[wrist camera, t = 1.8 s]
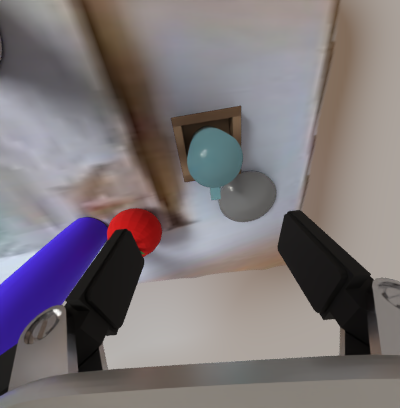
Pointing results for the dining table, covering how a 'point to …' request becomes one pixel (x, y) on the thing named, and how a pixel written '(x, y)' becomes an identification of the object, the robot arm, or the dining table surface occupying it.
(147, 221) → the tomato
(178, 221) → the dining table surface
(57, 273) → the bottle
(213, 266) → the dining table surface
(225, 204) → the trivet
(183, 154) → the cradle
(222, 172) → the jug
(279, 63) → the dining table surface
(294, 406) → the robot arm
